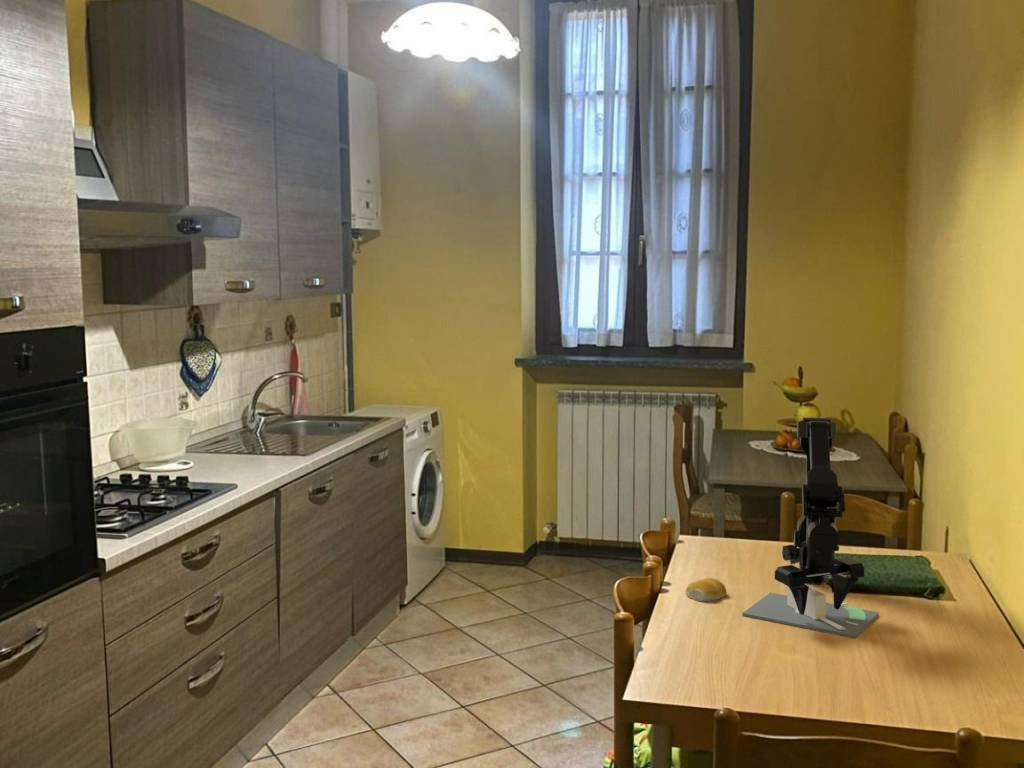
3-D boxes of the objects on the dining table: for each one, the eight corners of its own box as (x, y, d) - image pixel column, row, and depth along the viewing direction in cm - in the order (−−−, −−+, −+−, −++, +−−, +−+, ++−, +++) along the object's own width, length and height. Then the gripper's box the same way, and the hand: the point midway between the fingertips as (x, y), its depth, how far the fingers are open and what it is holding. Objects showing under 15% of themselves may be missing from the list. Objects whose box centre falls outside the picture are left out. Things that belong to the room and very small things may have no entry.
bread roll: (732, 595, 231) (732, 578, 230) (710, 605, 224) (710, 587, 224) (701, 587, 236) (701, 570, 236) (679, 596, 230) (679, 579, 229)
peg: (797, 603, 222) (797, 580, 221) (847, 629, 206) (847, 604, 205) (786, 604, 221) (787, 581, 220) (836, 631, 205) (837, 606, 204)
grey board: (773, 592, 231) (774, 589, 231) (881, 612, 217) (881, 608, 217) (742, 615, 217) (742, 612, 216) (855, 638, 203) (856, 634, 203)
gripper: (833, 525, 221) (832, 594, 223) (760, 534, 215) (759, 605, 217) (867, 537, 211) (865, 610, 212) (791, 547, 204) (790, 622, 206)
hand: (819, 611), depth 212 cm, fingers open, 8 cm apart
